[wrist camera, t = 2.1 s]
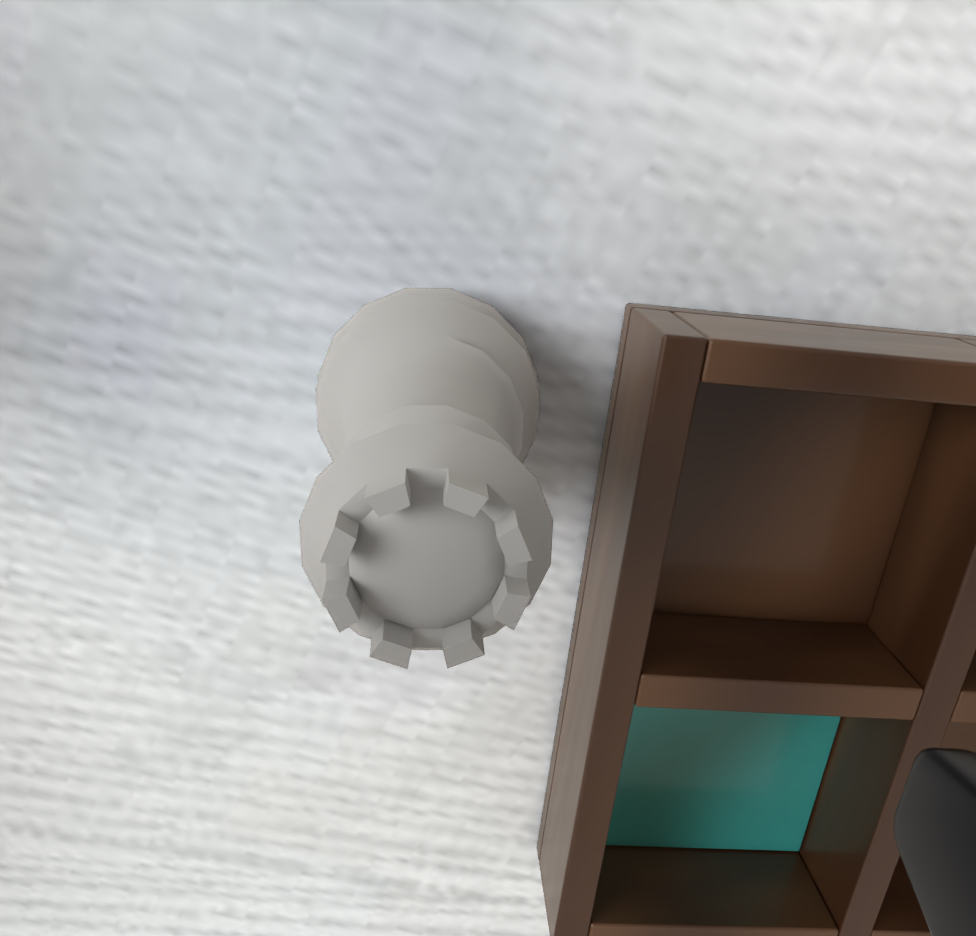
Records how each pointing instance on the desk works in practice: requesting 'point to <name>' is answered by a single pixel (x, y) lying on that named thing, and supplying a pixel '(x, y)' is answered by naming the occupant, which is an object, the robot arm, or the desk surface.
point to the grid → (764, 628)
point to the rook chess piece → (426, 477)
